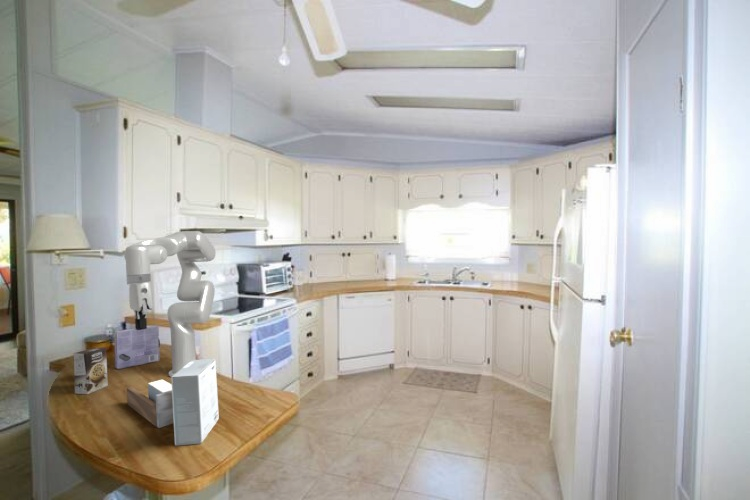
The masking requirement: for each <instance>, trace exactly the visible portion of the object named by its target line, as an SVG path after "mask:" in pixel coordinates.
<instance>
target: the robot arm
mask: <svg viewBox="0 0 750 500" xmlns="http://www.w3.org/2000/svg"><path fill="white" fill-rule="evenodd" d="M123 254H124V255H123V256H124V260H125V273H126V274H125V276H126V285H128V286H129V288H128V292H129V295H128V296H129V297H128V298H129V300H128V301H129V308H130V309H131V310H132V311H133V313H134V321H135V322H134V326H135V328H136V330H143V329H146V328H147V327H148V325H147V323H148V322H147V316H148V310H150V311H152V310H153V304H154V303H153V294H152V288H151V283H152V280H151V279H152V276H151V265H159V264H162V263H164V262H165V261H167V258H168V257H173V256H175V255H177V259H178V262H179V265H180V268H181V276H180V280H179V284H178V287H177V292H176V297H177V299H178V300H179V301H181V302H175V303H172V304H170V306H169V307H168V309H167V313H166V315H167V319H168V323H169V328H170V329H169V330H170V344H171V345H170V347H171V370H169V371H168V376H169V377H170V378H171V377H172V376H173V375H174V374H176V373H177V372H178V371H179V370H181V369H182V368H183V367H184V366H185V365H187V364H188V363H189V362H190V361H192V360H197V358H196V334H195V330H194V328H193V327H192V325H191V324H205V323H206V322H208V320H209V319H210V316H211V312H212V309H213V305H214V304H213V303H214V299H215V293H216V291H215V286H214V284H213V282H212V281H210V280H202V276H203V275H202V271H201V269H200V267H198V265H197V264H196V263H204V262H205V263H207V262H211V261H213V260H214V259H215V258H216V249H215V246H214V245H213V244H212V242H211V241H210V239H209V238H208V237H207V236H206V235H205V234H204V233H203V232H201V231H199V230H187V231H185V230H184V231H183V230H182V231H177V232H174V233H171V234H169V235H166V236H163V237H158V238H157V237H156V238H153V239H149V240H143V241H139V242H136V243H133V244H131V245H129V246H126V248H125V251H124V253H123Z"/></svg>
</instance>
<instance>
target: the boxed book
mask: <svg viewBox="0 0 750 500" xmlns="http://www.w3.org/2000/svg"><path fill="white" fill-rule="evenodd" d="M147 388H148V389H147V390H148V392H147V393H148V394H147V395H148V396H147V397H148V398H149V399H151V400H152V401H154V402H155V403H156V395H157V394H161V393H164V392H168V391H171V390H172V383H170V382H168V381H166V380H164V379H158V380H155V381H150V382H148V383H147Z"/></svg>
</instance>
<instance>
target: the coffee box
mask: <svg viewBox="0 0 750 500" xmlns="http://www.w3.org/2000/svg"><path fill="white" fill-rule="evenodd" d="M107 361H108V360H107V347H101V346H99V347H91V348H88V349H84V350H80V351H77V352H74V353H73V364H74V365H73V368H74V369H73V372H74V394H79V395H89V394H91V393H94V392H96V391H98V390H101V389H104V388H106V387H108V385H109V384H108V382H109V381H108V362H107Z"/></svg>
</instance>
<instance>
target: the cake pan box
mask: <svg viewBox="0 0 750 500" xmlns="http://www.w3.org/2000/svg"><path fill="white" fill-rule="evenodd" d="M159 329H160V327H159V325H152V326H147V328H146V329H143V330H136V327H135V328H131V329H121V330H115V331H114V368H116V370H121V369H125V368H130V367H137V366H141V365H142V366H143V365H145V364H149V363H154V362H155V363H156V362H160V346H161V340H160V337H159V335H160V333H159V332H160V330H159Z"/></svg>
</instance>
